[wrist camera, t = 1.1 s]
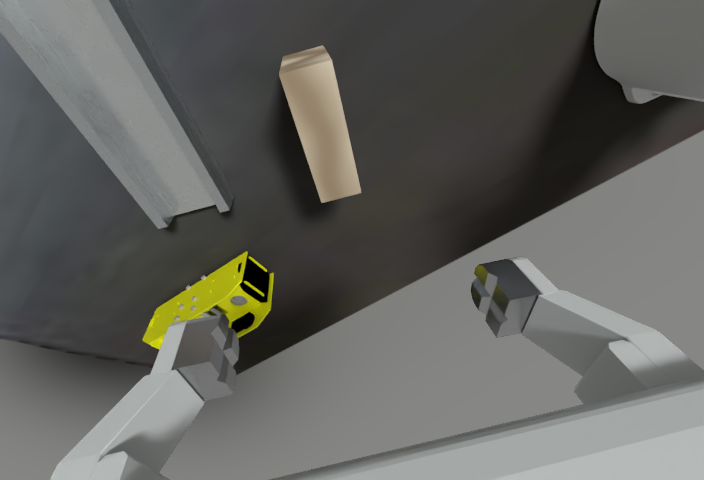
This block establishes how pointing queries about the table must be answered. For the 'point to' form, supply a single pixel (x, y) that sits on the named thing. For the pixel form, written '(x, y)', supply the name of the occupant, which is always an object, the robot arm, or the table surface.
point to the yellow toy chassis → (219, 299)
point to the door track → (119, 100)
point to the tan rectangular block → (320, 121)
